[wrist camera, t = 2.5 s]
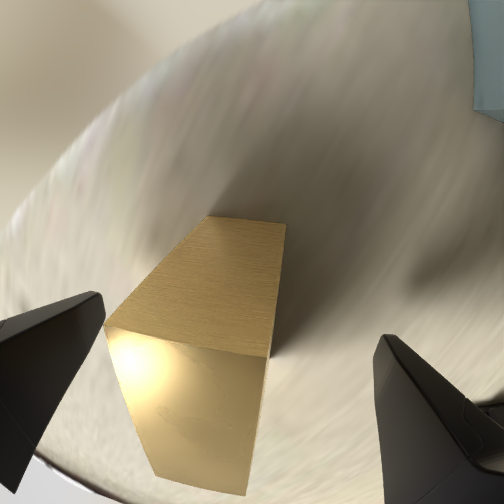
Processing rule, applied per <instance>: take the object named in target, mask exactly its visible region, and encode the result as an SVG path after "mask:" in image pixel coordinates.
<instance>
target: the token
mask: <svg viewBox="0 0 504 504" xmlns="http://www.w3.org/2000/svg"><path fill="white" fill-rule="evenodd" d="M285 232H286V224H281V223H273V222H264V221H255V220H245V219H236V218H226V217H216V216H207V217H206V218H205V219H204V220H203V221H202V222H201V223H200V224H199V225H198V226H197V227H195V228H194V229H193V230H192V231H191V232H190V233H189V234H188V235H187V236H186V237H185V238H184V239H183V240H182V241H181V242H180V243H179V244H178V245H177V246H176V247H175V248H174V249H173V250H172V251H171V252H170V253H169V255H168V256H167V257H166V258H165V259H164V260H163V261H162V262H161V263H160V264H159V265H158V266H157V267H156V268H155V269H154V270H153V271H152V272H151V273H150V274H149V275H148V276H147V277H146V278H145V279H144V280H143V281H142V283H141V284H140V285H139V286H138V287H137V288H136V289H135V290H134V291H133V292H132V293H131V294H130V295H129V296H128V297H127V299H126V300H125V301H124V302H123V303H122V304H121V305H120V306H119V307H118V308H117V309H116V311H115V312H114V313H113V314H112V315H111V316H110V317H109V318H108V319H107V320H106V322H105V323H104V324H103V326H104V331H105V335H106V339H107V342H108V346H109V350H110V354H111V357H112V361H113V364H114V368H115V371H116V374H117V378H118V381H119V384H120V387H121V390H122V393H123V396H124V399H125V402H126V405H127V408H128V410H129V413H130V416H131V419H132V421H133V424H134V426H135V429H136V432H137V434H138V437H139V439H140V441H141V444H142V446H143V449H144V451H145V453H146V456H147V458H148V460H149V462H150V464H151V467H152V469H153V471H154V473H155V475H156V476H158V477H161V478H165V479H168V480H171V481H175V482H179V483H182V484H186V485H190V486H194V487H199V488H203V489H207V490H212V491H217V492H222V493H228V494H234V495H240V496H245V495H246V490H247V485H248V480H249V475H250V470H251V464H252V459H253V453H254V448H255V442H256V437H257V431H258V425H259V419H260V414H261V408H262V402H263V395H264V389H265V383H266V377H267V370H268V364H269V357H270V350H271V343H272V336H273V329H274V322H275V314H276V306H277V299H278V291H279V283H280V275H281V267H282V258H283V250H284V241H285Z"/></svg>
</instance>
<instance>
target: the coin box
mask: <svg viewBox="0 0 504 504" xmlns="http://www.w3.org/2000/svg"><path fill="white" fill-rule="evenodd" d="M468 2H469V9H470V17H471V26H472V37H473V53H474V105H473V110H474V111H477V112H479V113H482V114H484V115H487V116H489V117H491V118H494V119H496V120H498V121H500V122H503V123H504V0H468Z"/></svg>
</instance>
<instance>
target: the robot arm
mask: <svg viewBox="0 0 504 504" xmlns="http://www.w3.org/2000/svg"><path fill="white" fill-rule="evenodd" d="M105 318H106V312H105V307H104V302H103V297H102V295H101V294H100V293H98V292H94V291H88V292H85V293H82V294H79V295H76V296H73V297H70V298H67V299H64V300H61V301H58V302H55V303H52V304H49V305H46V306H43V307H40V308H37V309H34V310H31V311H28V312H25V313H22V314H19V315H16V316H14V317H11V318H8V319H7V320H6V319H5V320H2V321H0V483H1V484H2V485H3V486H4V487H6V488H7V489H8V490H9V491H11V492H12V493H13V494H15V493H16V491H17V489H18V487H19V484H20V482H21V480H22V477H23V475H24V473H25V471H26V468H27V466H28V464H29V462H30V460H31V458H32V456H33V454H34V452H35V450H36V447H37V445H38V443H39V441H40V439H41V437H42V435H43V433H44V431H45V429H46V428H47V426H48V424H49V422H50V420H51V418H52V416H53V414H54V413H55V411H56V409H57V407H58V405H59V403H60V402H61V400H62V398H63V396H64V394H65V393H66V391H67V389H68V387H69V386H70V384H71V382H72V380H73V379H74V377H75V375H76V374H77V372H78V370H79V369H80V367H81V365H82V364H83V362H84V360H85V359H86V357H87V355H88V353H89V351H90V349H91V347H92V345H93V343H94V341H95V339H96V337H97V335H98V333H99V331H100V329H101V327H102V325H103V323H104V321H105ZM373 373H374V400H375V410H376V417H377V425H378V433H379V442H380V451H381V461H382V472H383V485H384V502H385V504H504V403H503V404H498V405H492V406H487V407H481V408H478V407H477V406H476V405H474V404H473V403H472V402H471V401H470V400H469V399H468V398H465V396H464V395H463V394H462V393H461V392H460V391H459V390H458V389H457V388H455V387H454V386H453V385H452V384H451V383H450V382H449V381H448V380H447V379H445V378H444V377H443V376H442V375H441V374H440V373H439V372H437V371H436V370H435V369H434V368H433V367H432V366H431V365H429V364H428V363H427V362H426V361H425V360H424V359H423V358H421V357H420V356H419V355H418V354H417V353H416V352H415V351H413V350H412V349H411V348H410V347H409V346H408V345H406V344H405V343H404V342H403V341H402V340H401V339H399V338H398V337H397V336H396V335H393V334H383V335H382V336H381V337H380V340H379V343H378V345H377V348H376V351H375V353H374V356H373Z"/></svg>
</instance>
